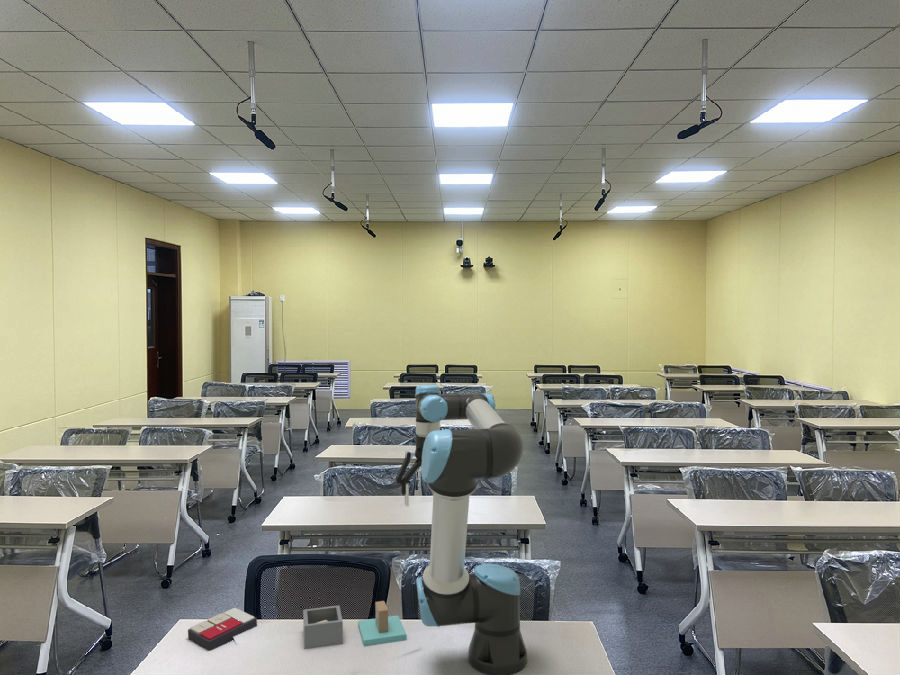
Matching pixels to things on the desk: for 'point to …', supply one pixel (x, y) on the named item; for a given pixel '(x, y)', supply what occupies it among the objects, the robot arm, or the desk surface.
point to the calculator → (221, 628)
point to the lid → (381, 627)
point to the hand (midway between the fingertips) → (428, 503)
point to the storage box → (322, 627)
